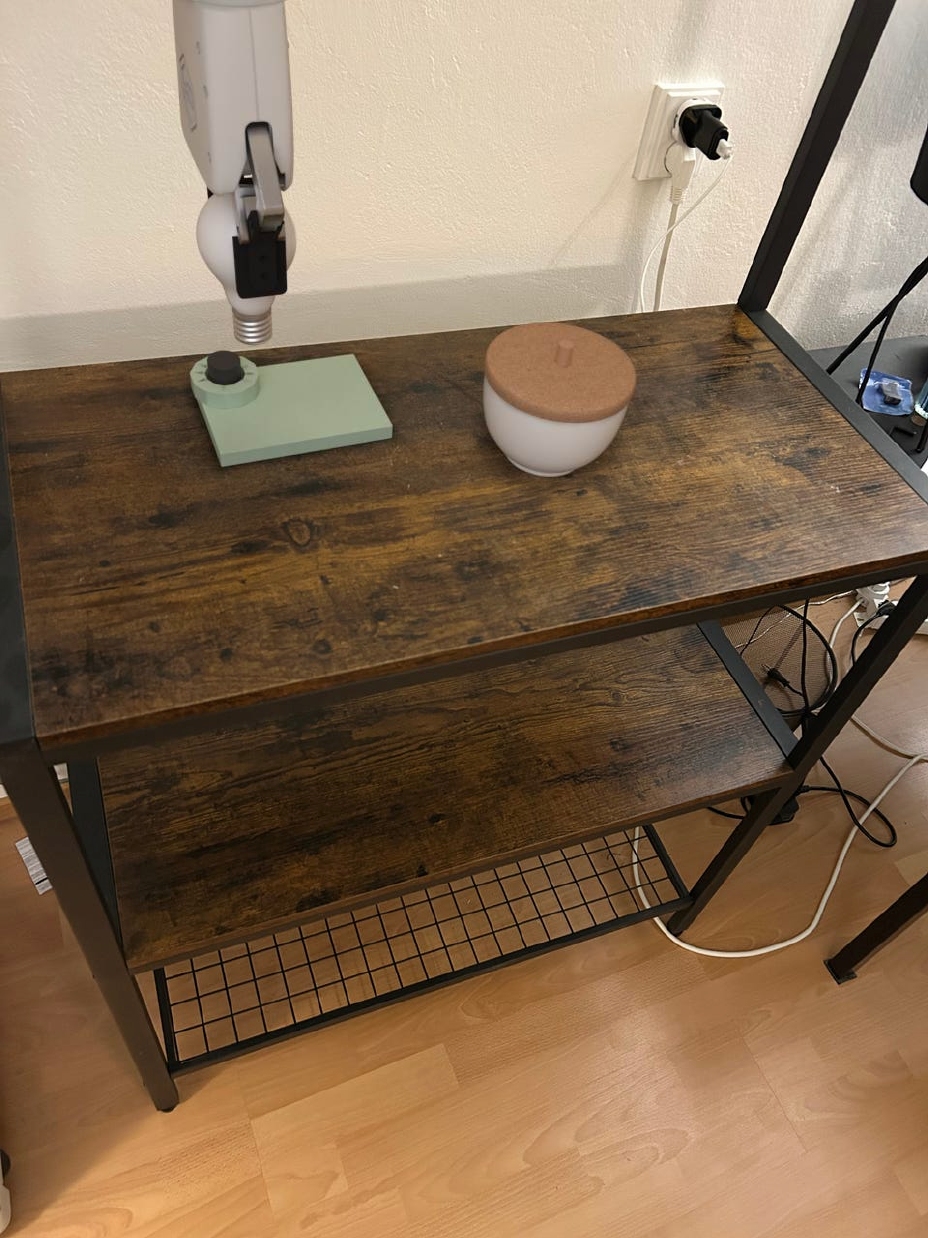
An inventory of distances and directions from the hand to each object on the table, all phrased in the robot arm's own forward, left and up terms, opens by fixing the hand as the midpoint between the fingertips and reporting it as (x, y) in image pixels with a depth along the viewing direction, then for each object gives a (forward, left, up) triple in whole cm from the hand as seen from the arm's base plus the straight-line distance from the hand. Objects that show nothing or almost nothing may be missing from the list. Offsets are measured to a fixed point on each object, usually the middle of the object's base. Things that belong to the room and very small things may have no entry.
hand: (248, 263), depth 64 cm
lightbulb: (0, 0, -6) cm, 6 cm away
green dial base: (+5, +9, -20) cm, 22 cm away
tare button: (0, +12, -17) cm, 21 cm away
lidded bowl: (+25, -2, -20) cm, 32 cm away
